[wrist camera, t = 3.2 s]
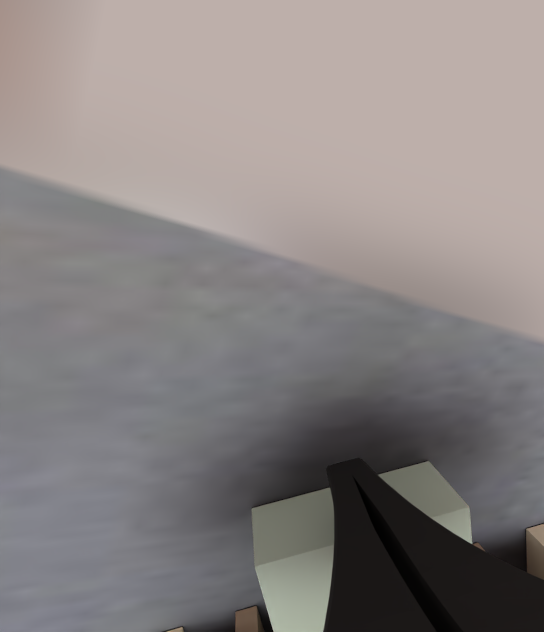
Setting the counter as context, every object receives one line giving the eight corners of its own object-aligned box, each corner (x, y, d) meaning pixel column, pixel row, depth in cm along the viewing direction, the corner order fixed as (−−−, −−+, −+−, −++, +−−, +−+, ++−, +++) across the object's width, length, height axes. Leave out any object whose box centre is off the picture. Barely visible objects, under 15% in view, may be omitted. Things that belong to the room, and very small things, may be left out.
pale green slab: (441, 580, 15) (479, 642, 13) (284, 625, 15) (293, 698, 13) (428, 461, 14) (469, 506, 11) (251, 508, 13) (254, 566, 11)
